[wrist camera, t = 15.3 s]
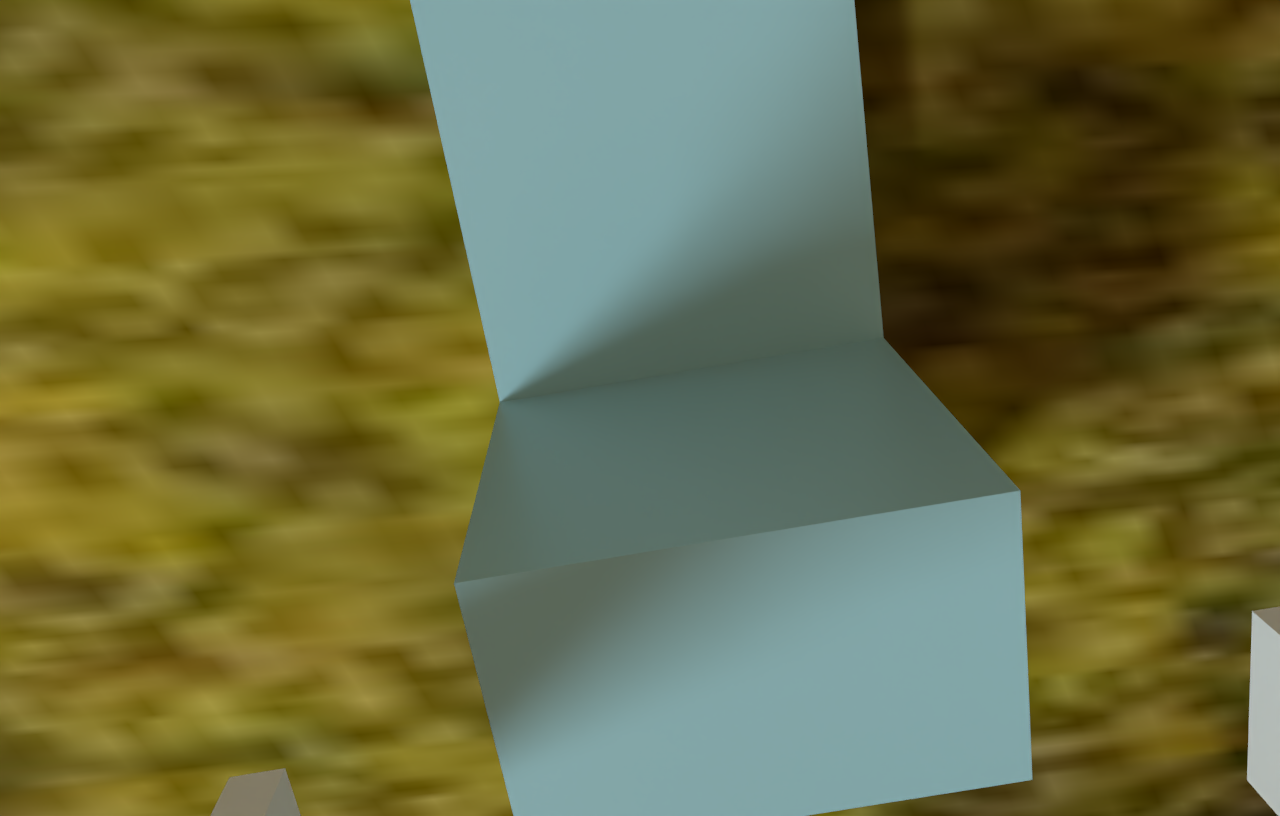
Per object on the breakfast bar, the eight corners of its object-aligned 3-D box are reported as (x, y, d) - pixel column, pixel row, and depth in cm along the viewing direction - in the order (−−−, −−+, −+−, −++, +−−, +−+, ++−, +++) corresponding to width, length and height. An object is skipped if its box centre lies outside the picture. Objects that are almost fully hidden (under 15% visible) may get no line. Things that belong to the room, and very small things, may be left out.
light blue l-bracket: (885, 521, 25) (1032, 779, 16) (549, 576, 25) (525, 860, 17) (767, -757, 17) (935, -1522, 9) (276, -663, 17) (-35, -1325, 9)
